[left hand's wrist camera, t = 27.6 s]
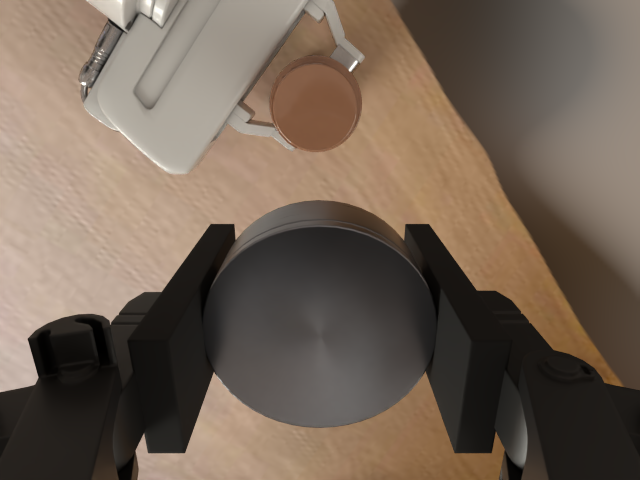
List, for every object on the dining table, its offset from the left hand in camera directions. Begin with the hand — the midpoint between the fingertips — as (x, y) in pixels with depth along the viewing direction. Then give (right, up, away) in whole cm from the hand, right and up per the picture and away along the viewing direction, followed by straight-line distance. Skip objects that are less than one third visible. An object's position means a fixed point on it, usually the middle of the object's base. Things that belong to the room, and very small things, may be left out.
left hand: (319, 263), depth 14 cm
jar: (0, +13, +21) cm, 24 cm away
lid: (0, -1, -4) cm, 4 cm away
